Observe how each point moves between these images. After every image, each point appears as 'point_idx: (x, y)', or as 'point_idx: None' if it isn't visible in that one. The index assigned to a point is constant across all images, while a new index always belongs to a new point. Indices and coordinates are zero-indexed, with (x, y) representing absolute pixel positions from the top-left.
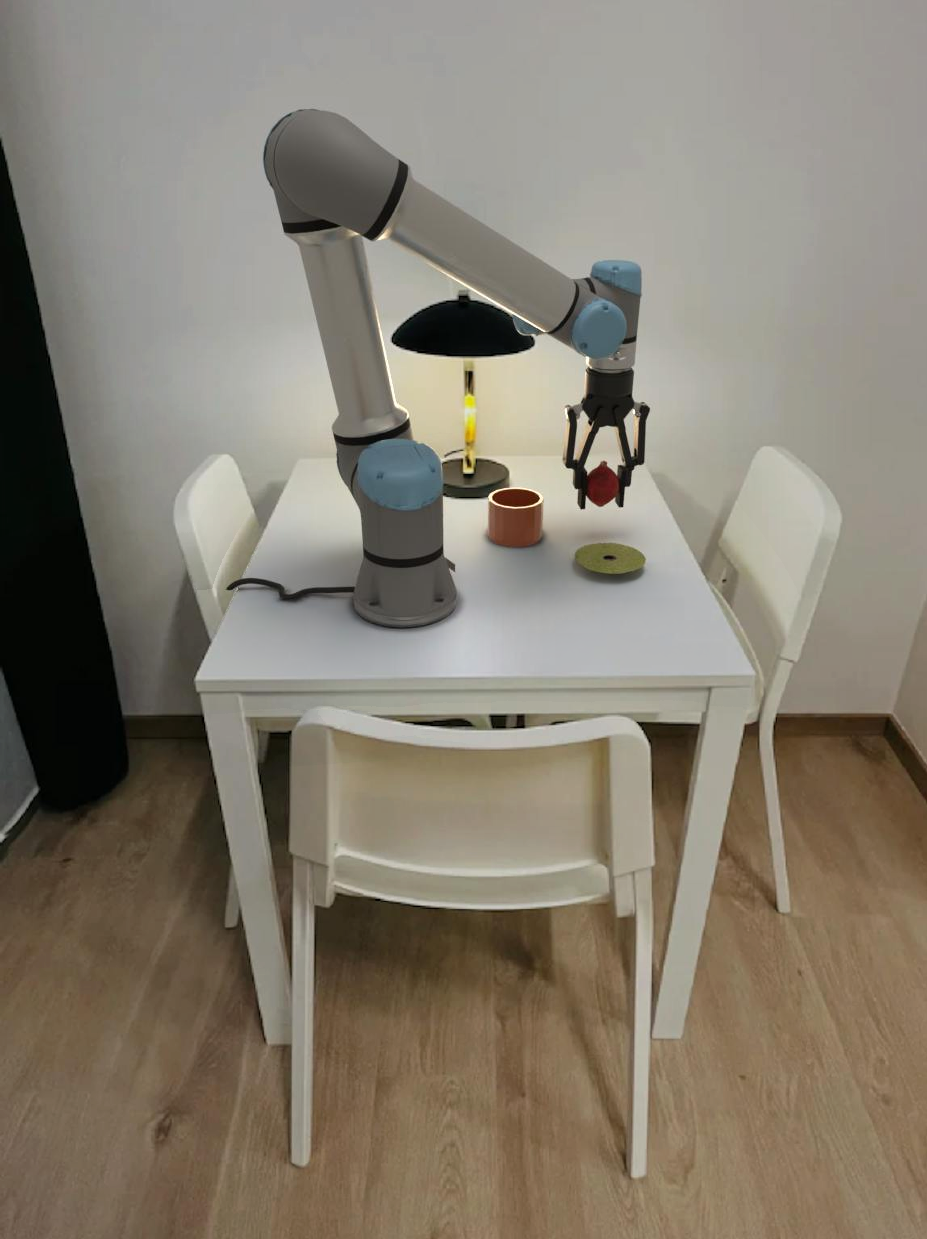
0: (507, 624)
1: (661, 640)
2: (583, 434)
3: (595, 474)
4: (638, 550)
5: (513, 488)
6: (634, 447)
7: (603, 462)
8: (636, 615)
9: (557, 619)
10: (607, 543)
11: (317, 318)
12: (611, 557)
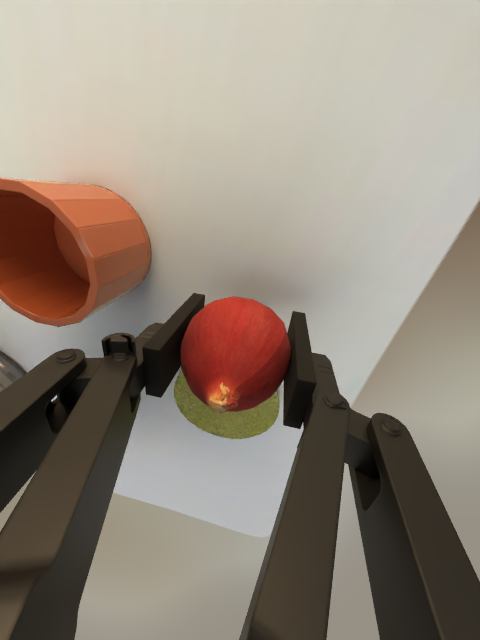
0: None
1: (224, 500)
2: (21, 499)
3: (193, 393)
4: (278, 399)
5: (11, 187)
6: (381, 489)
7: (216, 412)
8: (219, 471)
9: (141, 451)
10: None
11: None
12: None
